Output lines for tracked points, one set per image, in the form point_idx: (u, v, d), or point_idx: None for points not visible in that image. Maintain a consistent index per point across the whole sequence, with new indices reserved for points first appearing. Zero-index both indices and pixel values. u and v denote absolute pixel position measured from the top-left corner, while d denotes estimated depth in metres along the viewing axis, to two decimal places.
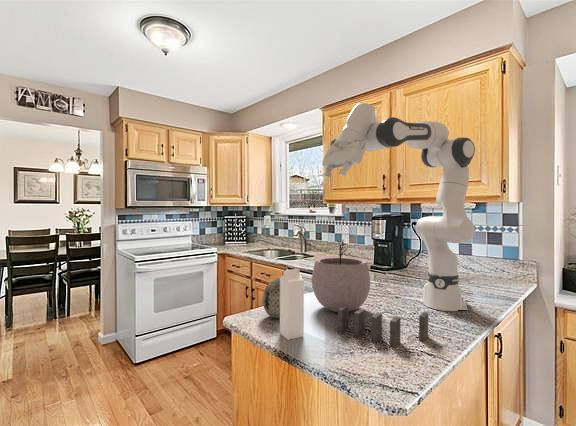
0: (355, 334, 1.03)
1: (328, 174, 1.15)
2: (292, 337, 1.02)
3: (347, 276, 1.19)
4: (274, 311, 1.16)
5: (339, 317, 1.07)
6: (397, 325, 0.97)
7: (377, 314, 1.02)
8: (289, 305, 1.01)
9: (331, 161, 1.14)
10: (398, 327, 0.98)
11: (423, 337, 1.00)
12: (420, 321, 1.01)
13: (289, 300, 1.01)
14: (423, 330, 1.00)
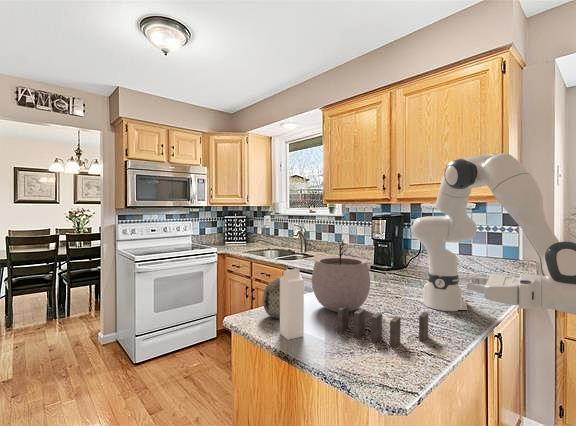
0: (355, 334, 1.03)
1: None
2: (292, 337, 1.02)
3: (347, 276, 1.19)
4: (274, 311, 1.16)
5: (339, 317, 1.07)
6: (397, 326, 0.97)
7: (377, 314, 1.02)
8: (289, 305, 1.01)
9: None
10: (398, 327, 0.98)
11: (423, 337, 1.00)
12: (420, 321, 1.01)
13: (289, 300, 1.01)
14: (423, 330, 1.00)
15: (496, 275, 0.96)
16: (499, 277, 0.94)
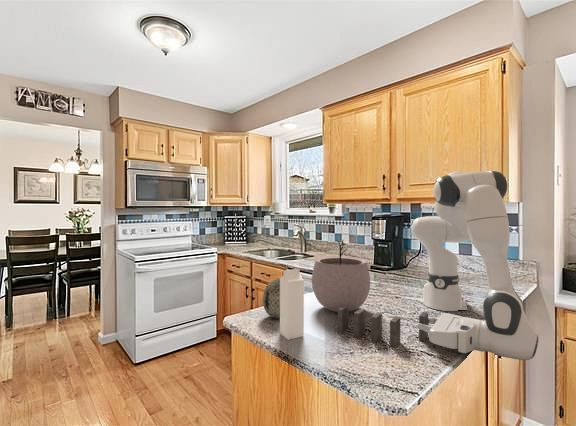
0: (355, 334, 1.03)
1: None
2: (292, 337, 1.02)
3: (347, 276, 1.19)
4: (274, 311, 1.16)
5: (339, 317, 1.07)
6: (397, 325, 0.97)
7: (377, 314, 1.02)
8: (289, 305, 1.01)
9: None
10: (398, 327, 0.98)
11: (423, 337, 1.00)
12: (420, 321, 1.01)
13: (289, 300, 1.01)
14: (423, 330, 1.00)
15: (446, 314, 1.05)
16: (448, 317, 1.02)
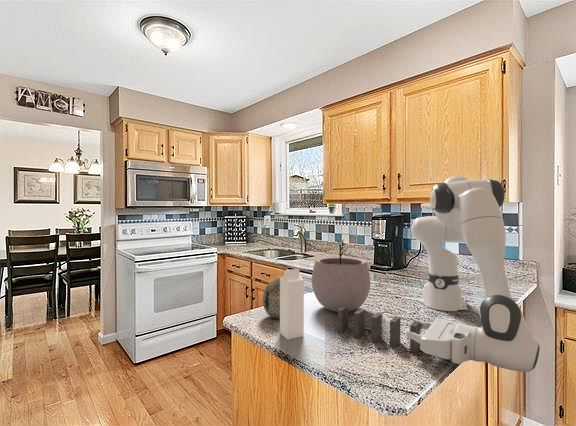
0: (355, 334, 1.03)
1: None
2: (292, 337, 1.02)
3: (347, 276, 1.19)
4: (274, 311, 1.16)
5: (339, 317, 1.07)
6: (397, 325, 0.97)
7: (377, 314, 1.02)
8: (289, 305, 1.01)
9: None
10: (398, 327, 0.98)
11: (414, 348, 0.92)
12: None
13: (289, 300, 1.01)
14: (414, 341, 0.92)
15: (440, 320, 0.97)
16: (441, 323, 0.94)
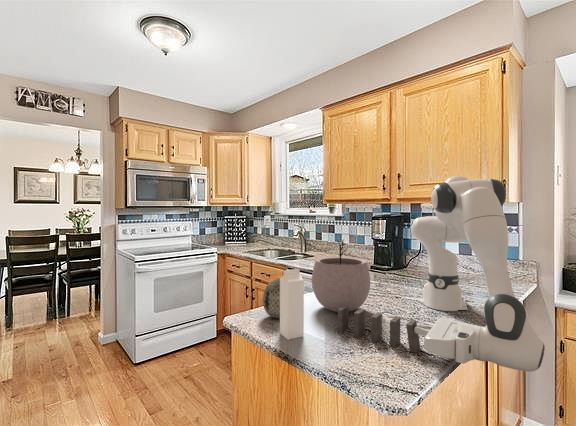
0: (355, 334, 1.03)
1: None
2: (292, 337, 1.02)
3: (347, 276, 1.19)
4: (274, 311, 1.16)
5: (339, 317, 1.07)
6: (397, 325, 0.97)
7: (377, 314, 1.02)
8: (289, 305, 1.01)
9: None
10: (398, 327, 0.98)
11: (414, 347, 0.92)
12: (408, 330, 0.93)
13: (289, 300, 1.01)
14: (412, 340, 0.92)
15: (443, 319, 0.97)
16: (445, 323, 0.94)
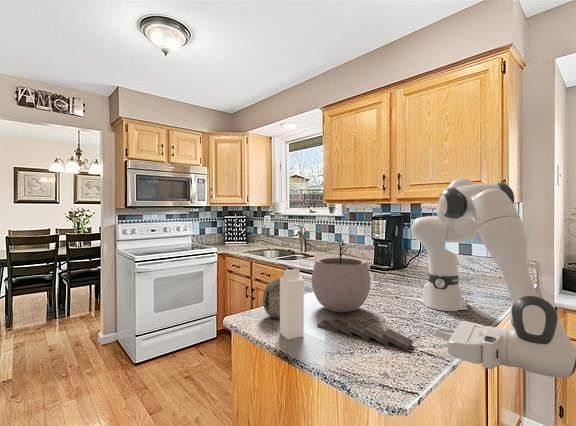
0: (348, 332, 1.05)
1: None
2: (292, 337, 1.02)
3: (347, 276, 1.19)
4: (274, 311, 1.16)
5: (324, 328, 1.11)
6: (373, 329, 1.02)
7: None
8: (289, 305, 1.01)
9: None
10: (376, 329, 1.02)
11: (404, 344, 0.94)
12: (387, 339, 0.97)
13: (289, 300, 1.01)
14: (396, 341, 0.95)
15: (465, 322, 0.93)
16: (467, 326, 0.90)
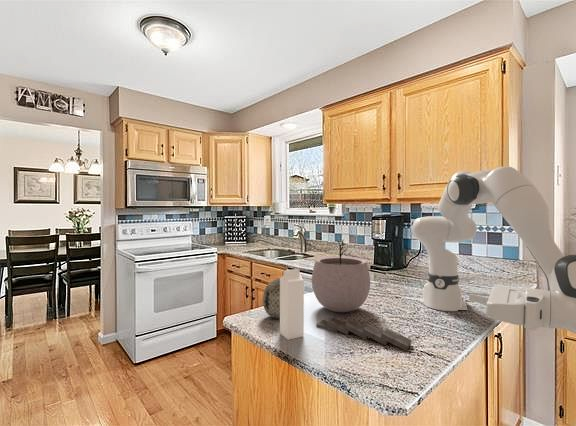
0: (345, 332, 1.05)
1: None
2: (292, 337, 1.02)
3: (347, 276, 1.19)
4: (274, 311, 1.16)
5: None
6: (371, 329, 1.02)
7: None
8: (289, 305, 1.01)
9: None
10: (374, 329, 1.02)
11: (403, 344, 0.94)
12: (386, 339, 0.97)
13: (289, 300, 1.01)
14: (395, 341, 0.95)
15: (499, 287, 0.88)
16: (502, 290, 0.85)
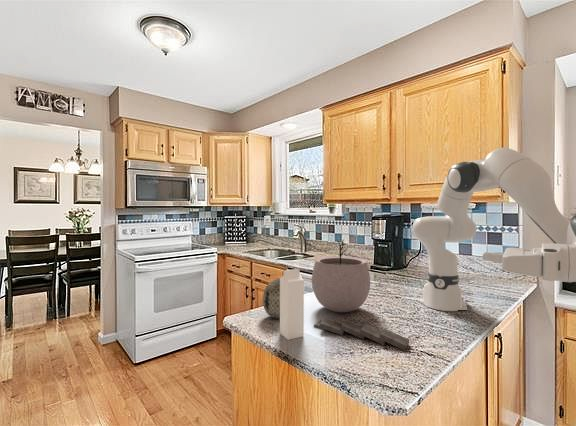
0: (340, 332, 1.05)
1: None
2: (292, 337, 1.02)
3: (347, 276, 1.19)
4: (274, 311, 1.16)
5: (320, 328, 1.11)
6: (369, 329, 1.02)
7: None
8: (289, 305, 1.01)
9: None
10: (371, 329, 1.02)
11: (401, 344, 0.94)
12: (384, 339, 0.97)
13: (289, 300, 1.01)
14: (394, 341, 0.95)
15: (512, 248, 0.86)
16: (516, 249, 0.83)
